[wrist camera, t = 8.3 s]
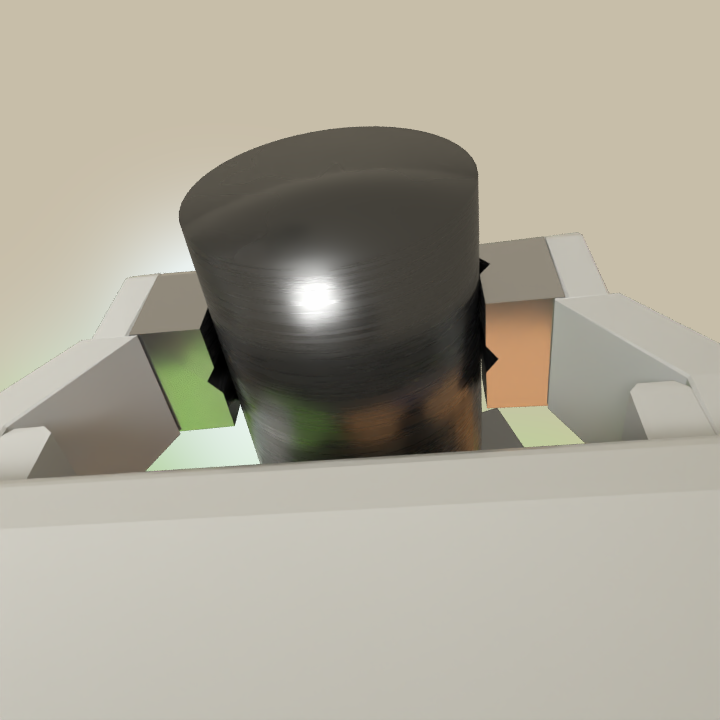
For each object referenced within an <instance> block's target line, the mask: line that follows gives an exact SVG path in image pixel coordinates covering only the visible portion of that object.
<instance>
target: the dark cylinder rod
mask: <svg viewBox="0 0 720 720" xmlns="http://www.w3.org/2000/svg"><path fill="white" fill-rule="evenodd" d="M179 222H180V225H181V228H182V231H183V234H184V237H185V240H186V243H187V246H188V249H189V252H190V255H191V258H192V261H193V264H194V267H195V270H196V273H197V276H198V279H199V282H200V285H201V288H202V291H203V294H204V297H205V300H206V303H207V306H208V309H209V312H210V315H211V318H212V321H213V324H214V327H215V330H216V333H217V336H218V339H219V342H220V345H221V348H222V351H223V354H224V357H225V360H226V363H227V366H228V369H229V372H230V375H231V378H232V381H233V384H234V386H235V389H236V392H237V395H238V398H239V401H240V404H241V407H242V410H243V413H244V416H245V419H246V422H247V425H248V428H249V431H250V434H251V437H252V440H253V443H254V446H255V449H256V452H257V455H258V458H259V461H260V464H272V463H288V462H304V461H319V460H335V459H351V458H367V457H383V456H398V455H414V454H430V453H445V452H461V451H477V450H481V445H482V407H481V337H480V270H479V204H478V171H477V167H476V164H475V162H474V160H473V158H472V157H471V156H470V155H469V154H468V153H467V152H466V151H465V150H464V149H463V148H461V147H460V146H459V145H457V144H455V143H453V142H451V141H450V140H447V139H445V138H443V137H439V136H437V135H434V134H430V133H427V132H422V131H418V130H412V129H404V128H396V127H378V126H374V127H348V128H337V129H328V130H322V131H316V132H310V133H306V134H301V135H296V136H293V137H288V138H284V139H281V140H277V141H275V142H271V143H268V144H265V145H262V146H259V147H257V148H254V149H252V150H249V151H247V152H244V153H242V154H240V155H238V156H236V157H234V158H232V159H230V160H228V161H226V162H224V163H223V164H221V165H219V166H218V167H216V168H215V169H213V170H212V171H210V172H209V173H207V174H206V175H205V176H204V177H202V178H201V179H200V180H199V181H198V182H197V183H196V184H195V185H194V186H193V187H192V188H191V189H190V190H189V192H188V193H187V195H186V196H185V198H184V200H183V201H182V203H181V207H180V211H179Z"/></svg>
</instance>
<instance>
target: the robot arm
mask: <svg viewBox="0 0 720 720" xmlns="http://www.w3.org/2000/svg"><path fill="white" fill-rule="evenodd" d="M479 270H480V337H481V363H482V380H483V386H484V392H485V398H486V403H487V408H505V407H526V406H548V409H549V410H550V411H551V412H552V413H554V414H555V415H556V416H557V417H558V418H559V419H560V420H561V421H562V422H563V423H564V424H565V425H566V426H567V427H569V428H570V429H571V430H572V431H573V432H574V433H575V434H576V435H577V436H578V437H579V438H580V439H581V440H582V441H583V442H585V443H586V444H572V445H558V446H557V445H555V446H540V447H524V448H508V449H493V450H477V451H461V452H445V453H430V454H414V455H398V456H383V457H367V458H351V459H335V460H319V461H304V462H288V463H272V464H256V465H241V466H225V467H210V468H194V469H178V470H162V471H146V470H147V469H148V468H149V467H150V466H151V465H152V463H153V462H154V461H155V460H156V459H157V458H158V457H159V456H160V455H161V454H162V453H163V452H164V451H165V450H166V449H167V448H168V447H169V445H170V444H171V443H172V442H173V441H174V440H175V439H176V438H177V437H178V436H179V435H180V432H179V431H188V430H199V429H208V428H219V427H229V426H235V423H236V418H237V415H238V411H239V407H240V401H239V398H238V395H237V392H236V389H235V386H234V384H233V381H232V378H231V375H230V372H229V369H228V366H227V363H226V360H225V357H224V354H223V351H222V348H221V345H220V342H219V339H218V336H217V333H216V330H215V327H214V324H213V321H212V318H211V315H210V312H209V309H208V306H207V303H206V300H205V297H204V294H203V291H202V288H201V285H200V282H199V279H198V276H197V273H196V271H190V272H177V273H164V274H159V273H158V274H150V275H142V276H133V277H130V278H127V279H125V281H124V283H123V284H122V286H121V288H120V290H119V292H118V293H117V295H116V297H115V299H114V300H113V302H112V304H111V306H110V307H109V309H108V311H107V313H106V315H105V316H104V318H103V320H102V322H101V323H100V325H99V327H98V329H97V330H96V332H95V334H94V336H93V338H92V339H88V340H81V341H79V342H78V343H76V344H75V345H73V346H72V347H70V348H69V349H67V350H65V351H64V352H62V353H61V354H60V355H58V356H56V357H55V358H53V359H51V360H50V361H48V362H47V363H45V364H44V365H42V366H41V367H39V368H37V369H36V370H34V371H33V372H31V373H30V374H28V375H27V376H25V377H23V378H22V379H20V380H19V381H17V382H16V383H14V384H12V385H11V386H9V387H8V388H6V389H5V390H3V391H2V392H0V720H720V343H718V342H716V341H714V340H712V339H710V338H708V337H706V336H704V335H702V334H700V333H698V332H696V331H694V330H692V329H690V328H688V327H686V326H684V325H682V324H680V323H678V322H676V321H674V320H672V319H670V318H668V317H666V316H664V315H663V314H660V313H659V312H657V311H655V310H653V309H650V308H648V307H647V306H645V305H643V304H641V303H639V302H637V301H635V300H633V299H631V298H629V297H627V296H625V295H623V294H621V293H613V294H609V292H608V290H607V287H606V285H605V283H604V281H603V279H602V277H601V274H600V272H599V270H598V268H597V266H596V263H595V261H594V259H593V257H592V255H591V253H590V250H589V248H588V246H587V244H586V242H585V240H584V237H583V235H582V234H580V233H578V232H575V233H568V234H561V235H553V236H546V237H536V238H528V239H519V240H511V241H503V242H495V243H487V244H479ZM145 471H146V472H145Z"/></svg>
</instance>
